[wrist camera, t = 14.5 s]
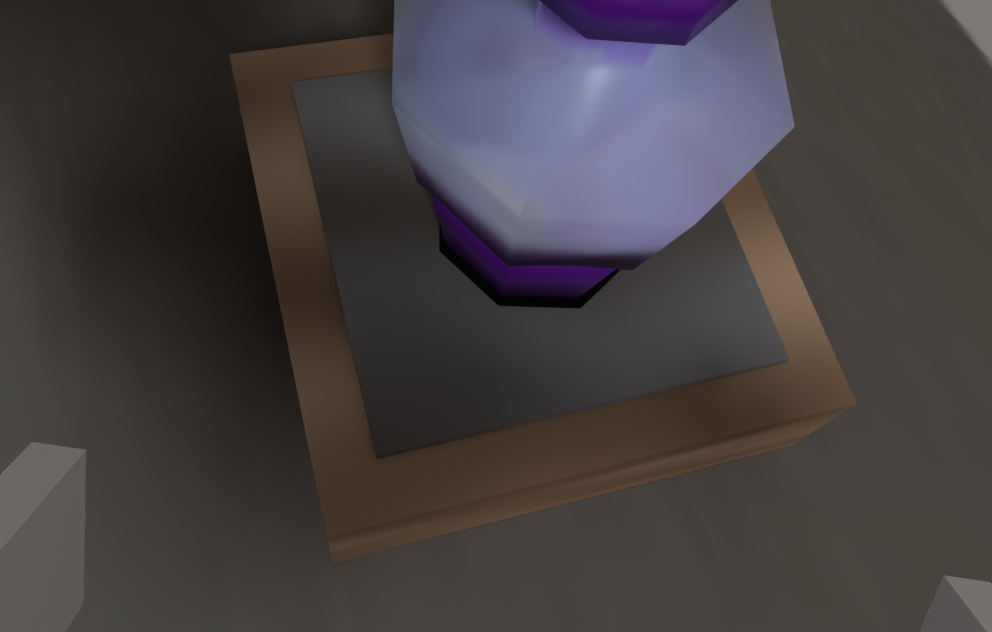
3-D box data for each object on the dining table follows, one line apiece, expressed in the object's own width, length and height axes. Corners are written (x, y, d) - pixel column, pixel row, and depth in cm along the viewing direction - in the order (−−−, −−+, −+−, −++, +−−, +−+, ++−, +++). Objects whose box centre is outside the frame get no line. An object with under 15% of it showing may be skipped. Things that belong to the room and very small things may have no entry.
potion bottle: (746, 304, 24) (1060, -38, 13) (450, 418, 22) (532, 117, 11) (604, 59, 27) (764, -390, 16) (328, 136, 24) (295, -329, 14)
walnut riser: (246, 136, 29) (227, 47, 25) (641, 78, 32) (678, -10, 28) (333, 563, 24) (325, 534, 20) (791, 444, 27) (862, 400, 23)
